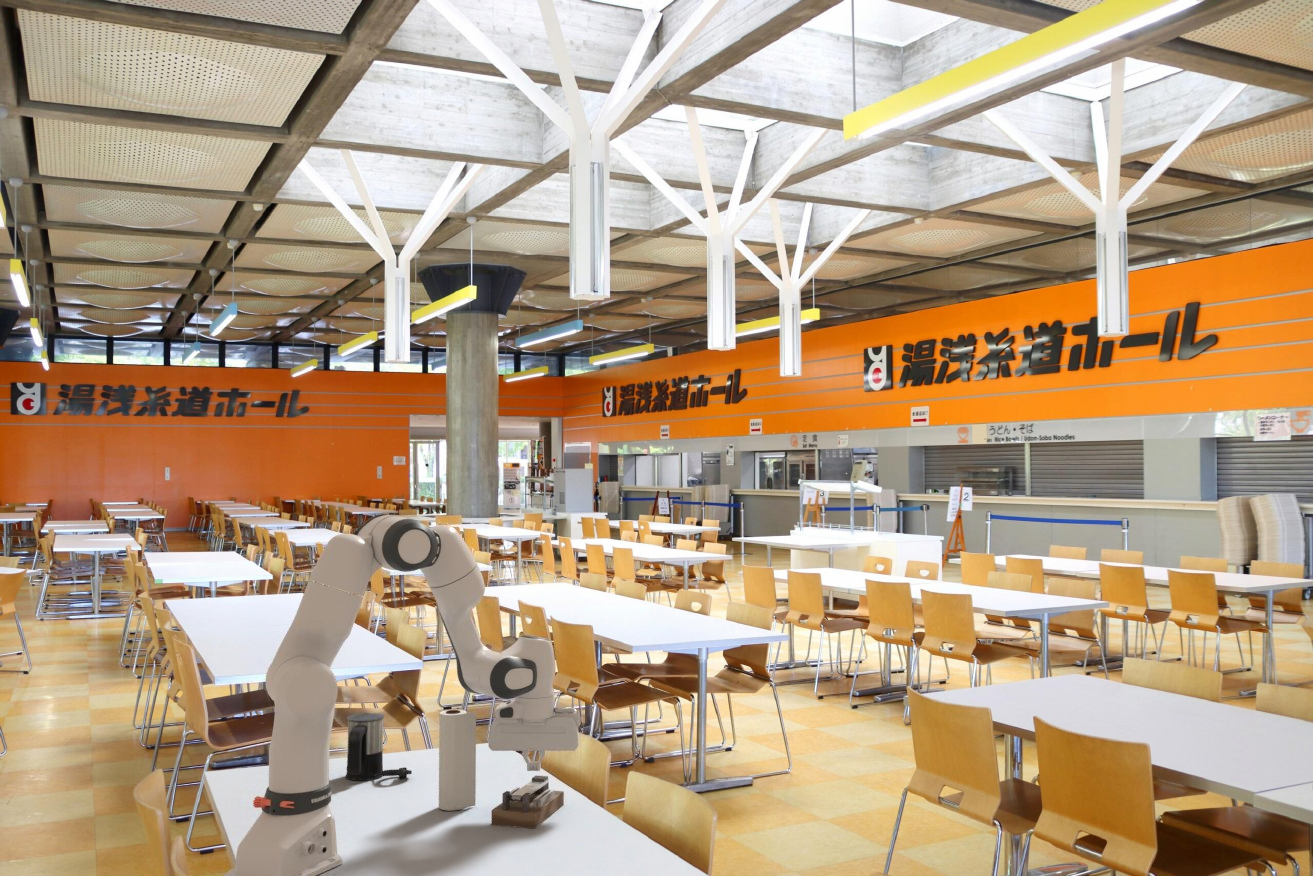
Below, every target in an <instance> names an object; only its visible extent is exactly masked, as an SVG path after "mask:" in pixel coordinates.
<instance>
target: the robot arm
mask: <svg viewBox="0 0 1313 876" xmlns="http://www.w3.org/2000/svg"><path fill="white" fill-rule="evenodd" d="M381 568H384V569H388V570H390V571H391V570H393V571H397V572H398V571H399V572H403V573H404V572H405V573H408V572H415V571H418V570H420V571H421V573H422V574H423V576H424V579H425V580H426V582H427V585H428V587H429V589H430V591H431V593H432V595H433V598H434V600H435V602H436V604H437V608H438V612H439V615H440V618H441V619H440V620H441V621H442V624H443V627H444V630H445V632H446V634H447V637H448V640H449V642H450V645H451V647H452V651H453V652H454V656H455V660H456V662H455V663H456V674H457V678H458V682H459V683H460V685H461V687H462V688H463V689H464V690H465V691H467V692H468V693H472V694H477V695H484V696H487V697H491V698H496V699H500V700H506V699H507V700H508V701H504V702H502V703H500V704H497V706H495V708H494V717H495V718H494V719H493V721H492V722H491V724H490V728H489V734H488V748H489V749H490V751H491V752H492V751H493V752H496V751H497V752H509V751H510V752H514V751H515V752H521V754H522V755H521V756H522V757H523V760H524V761H525V763H526V771H527V772H540V771H541V770H542V769H541V768H542V767H541V764H542V761H543V760H544V757H546V754H547V753H546V752H548V751H551V752H556V751H557V752H560V751H561V752H573V751H576V750H577V749H578V748H579V746H580V735H579V732H580V731H579V727H580V725H581V721H582V719H581V717H582V716H581V714H580V712H579V711H578V710H576V709H575V708H574V707H567V708H565V707H555V689H554V686H553V685H554V678H555V672H556V671H555V669H556V667H555V666H556V665H555V652H554V646H553V643H552V641H551V640H549V639H548V638H546V637H542V636H536V635H528V634H524V635H523V634H522V635H520V636H518V638H517V640H516V641H515V642H514V643H513V644H511V645H510V646H509V647H507V648H506V649H504V650H501V651H500V652H498V651H494V650H492V649H489V648H488V647H487V646H485V645H484V644H483V642H482V640H481V638H480V636H479V632H478V630H477V628H476V625H475V622H474V619H473V617H472V610H473V609H474V608H475V607H477V606H478V605H479V604H480V602H481V601H482V599H483V598H484V595H485V591H486V584H485V581H484V577H483V574H482V572H481V569H480V567H479V565H478V563H477V561H476V558H475V557H474V555H473V553H472V551H471V549H470V548H469V546H468V544H467V543H466V541H465V540H464V539H463V537H462V535H460V533H459V532H458V530H457V529H455V528H454V526H451V525H448V524H438V525H433V526H431V527H429V526H428V525H427V524H425V523H423V522H422V521H419V520H417V519H413V518H409V517H406V516H403V515H398V514H383V513H382V514H377V515H375V516H372V517H370V518H368V519H367V520H365V522H363V523H362V524H361V526H360V527H359V528H358V529H357V530H355V531H354V532H353V533H340V534H339V533H338V534H337V535H334V536H333V537H331V538H330V540H329V541H328V542H327V543H326V545H325V547H324V549H323V550H322V552H321V553H320V555H319V558H318V559H317V562H316V563H315V565H314V568H313V569H312V572H311V575H310V576H309V580H308V581H307V585H306V587H305V589H304V592H303V595H302V597H301V600H300V602H299V604H298V608H297V610H296V613H295V616H294V618H293V620H292V623H291V624H290V626H289V628H288V630H287V632H286V634H285V636H284V637H283V639H282V642H281V643H280V645H279V647H278V649H277V651H276V653H275V655H274V657H273V660H272V662H271V663H270V665H269V667H268V668H267V672H266V675H265V688H266V692H267V694H268V696H269V697H270V698H271V700H272V701H273V702H274V718H273V727H272V733H271V738H270V743H269V749H268V750H269V751H268V756H269V757H268V786H267V788H266V789H265V793H264V796H255V797H254V799H253V801H252V806H253V808H256V809H258V808H261V810H262V811H261V813H260V815H258V816H257V819H256V820H255V822H254V823H253V824H252V826H251V827H250V829H249V830H248V832H247V833H246V834H245V836H244V837H243V839H242V840H241V841H240V842H239V844H238V846H237V850H236V854H235V865H234V866H233V867H232V868H231V869H229V870H228V871H227V872H226V873H224V874H223V875H222V876H319V875H321V874H322V873H324V872H327V871H328V870H331V869H334V868H336V867H338V866H340V865H342V864H343V858H342V856H341V855H340V854H338V846H337V845H338V843H337V842H338V841H337V830H336V829H337V828H336V820H335V817H334V815H333V813H332V811H331V807H330V803H331V801H332V793H333V792H332V791H333V790H332V782H331V781H330V744H331V734H332V729H333V723H334V718H335V717H334V716H335V709H336V702H337V698H338V692H339V690H338V688H339V687H338V682H337V679H336V675H335V674H334V671H332V669H331V667H332V665H333V662H334V660H335V659H336V658H337V655H338V653H339V652H340V650H341V648H342V646H343V645H344V644H345V641H346V640H347V639H348V638H349V636H350V635H351V632H352V630H353V626H354V624H355V621H356V619H357V616H358V613H359V610H360V607H361V604H362V603H363V600H364V597H365V594H366V591H367V588H368V584H369V582H370V581H371V579H372V577H373V576H374V575H375V573H376V572H377V571H378V570H379V569H381ZM510 699H511V700H510ZM531 751H532V752H537V751H538V756H539V759H538V760H536V761H535V760H532V761H531V759H530V756H529V754H530V752H531Z"/></svg>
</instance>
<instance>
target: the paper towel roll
mask: <svg viewBox="0 0 1313 876" xmlns="http://www.w3.org/2000/svg"><path fill="white" fill-rule="evenodd" d="M438 716H439V717H438V718H439V723H438V724H439V727H438V730H439V731H438V732H439V733H438V734H439V736H438V738H439V739H438V749H439V750H438V757H439V758H438V808H439V809H440V810H442V811H451V812H452V811H458V810H464V809H466V808H470V807H475V806H476V788H477V787H476V785H477V784H476V782H477V777H476V776H477V775H476V772H477V771H476V769H477V767H476V766H477V761H476V759H477V756H476V755H477V747H476V746H477V711H470V712H467V711H466V710H464V709H447V710H442V711H440V712H439V715H438Z"/></svg>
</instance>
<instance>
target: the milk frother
mask: <svg viewBox="0 0 1313 876" xmlns="http://www.w3.org/2000/svg"><path fill="white" fill-rule="evenodd" d="M384 718H385V715H384V714H381V713H370V712H369V713H368V712H367V713H356V714H352V715H349V716H347V717H346V719H347V729H348V730H347V757H346V759H347V761H346V763H347V764H346V765H347V766H346V773H345V778H346V779H347V780H351V781H369V780H370V781H371V780H375V779H379V778H381V777H396V776H398V778H399V779H400V780H402V779H407V777H408V775H411V774H412V770H410V769H409V770H408V768H407V767H405V766H404V767H400V768H398V769H397V768H395V769H386V770H385V769H383V764H384V763H383V761H384V760H383V758H384V757H383V751H384V750H383V748H384V747H383V746H384V744H383V743H384V742H383V741H384V740H383V738H384V737H383V736H384Z"/></svg>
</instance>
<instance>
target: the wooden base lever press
mask: <svg viewBox="0 0 1313 876" xmlns="http://www.w3.org/2000/svg"><path fill="white" fill-rule="evenodd" d="M549 782H550V781H549ZM549 782H548V783H547V784H545V785H544V786H543V787H541V788H540V789H538V790H537V791H536V792H534V793H533V794H531V795H530V793H525V794H524V795H523V802H521V801H509V799H508V798H509V795H511V794H513V793H514V792H516V791H517V790H519V789H520V788H521V787H520V786H517V787H515V788H514V789H512V790H511V791H509V790H506V791H504V792H502V802H501V803H500V804H498V805H496V806H495V807H494V808H493V809H491V823H490V825H494V826H502V827H503V826H504V827H513V826H516V827H517V828H524V827H525V828H529V829H536V828H537V826H538V827H539V826H540V825H541V824H543V823H544V822H545V821H546V820H547V819H548V818H549V817H551V816H552V815H553V814H555V813H556V812H557V811H558V810H560V809H561V808H562V807H563V806H564V805H565V804H564V801H565V794H564V792H565V791H564V790H563V791H562V790H555V789H549V788H550V787H549ZM516 827H515V828H516Z"/></svg>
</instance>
